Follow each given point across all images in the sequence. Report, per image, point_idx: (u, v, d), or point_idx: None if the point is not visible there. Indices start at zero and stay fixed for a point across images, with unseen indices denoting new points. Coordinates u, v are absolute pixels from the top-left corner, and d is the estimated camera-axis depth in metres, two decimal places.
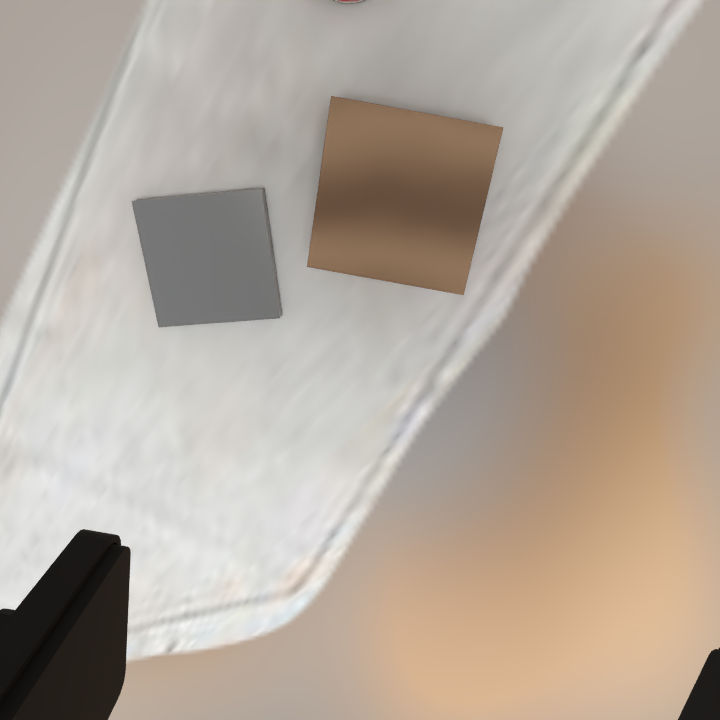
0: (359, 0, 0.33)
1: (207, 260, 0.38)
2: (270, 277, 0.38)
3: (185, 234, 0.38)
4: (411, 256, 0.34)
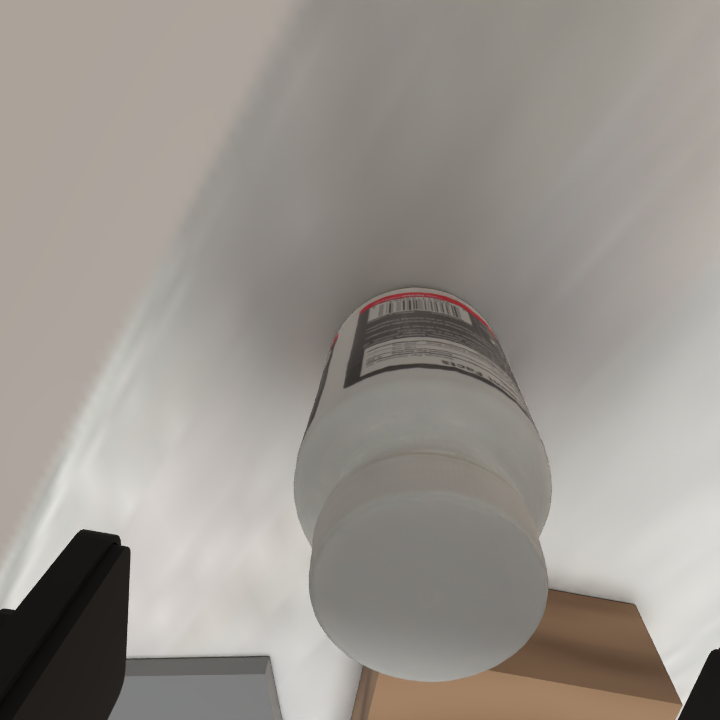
0: None
1: None
2: None
3: (150, 717, 0.25)
4: None
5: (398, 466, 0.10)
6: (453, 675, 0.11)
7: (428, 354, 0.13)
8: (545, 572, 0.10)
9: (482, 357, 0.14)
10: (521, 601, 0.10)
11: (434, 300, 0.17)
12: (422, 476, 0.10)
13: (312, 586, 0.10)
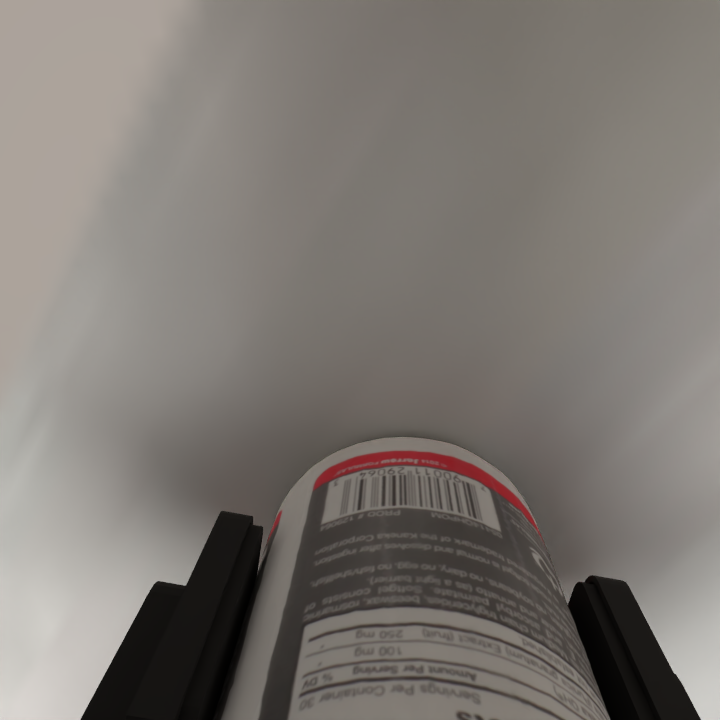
0: None
1: None
2: None
3: None
4: None
5: None
6: None
7: (428, 684, 0.06)
8: None
9: (532, 652, 0.07)
10: None
11: (434, 473, 0.10)
12: None
13: None
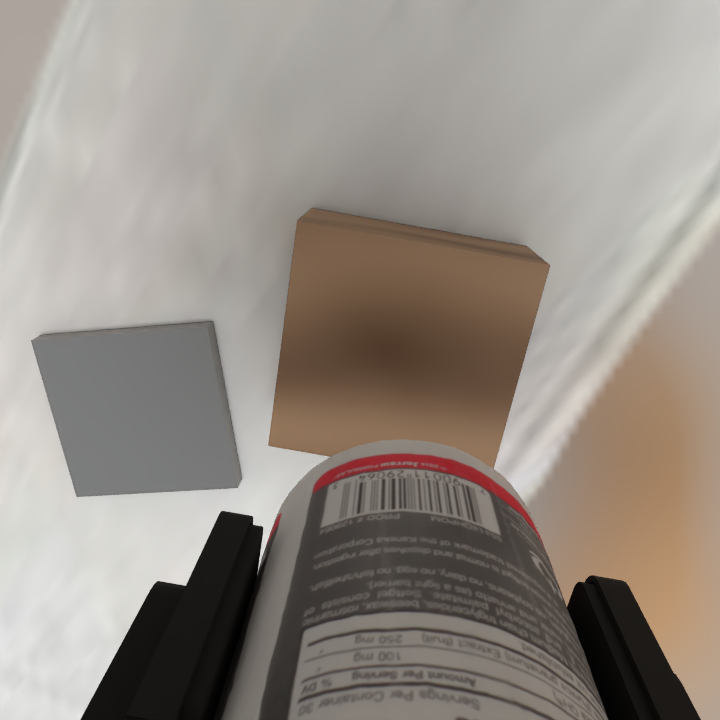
0: None
1: (137, 416, 0.28)
2: (223, 437, 0.28)
3: (107, 382, 0.28)
4: (415, 434, 0.24)
5: None
6: None
7: (427, 690, 0.06)
8: None
9: (531, 657, 0.07)
10: None
11: (434, 476, 0.10)
12: None
13: None
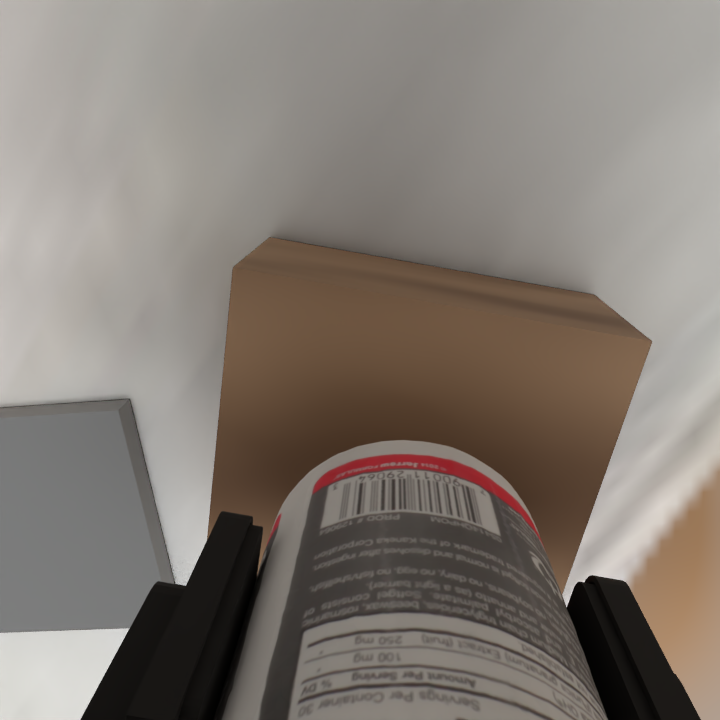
0: None
1: (25, 531, 0.20)
2: (149, 561, 0.20)
3: None
4: None
5: None
6: None
7: (426, 690, 0.06)
8: None
9: (532, 658, 0.07)
10: None
11: (434, 477, 0.10)
12: None
13: None
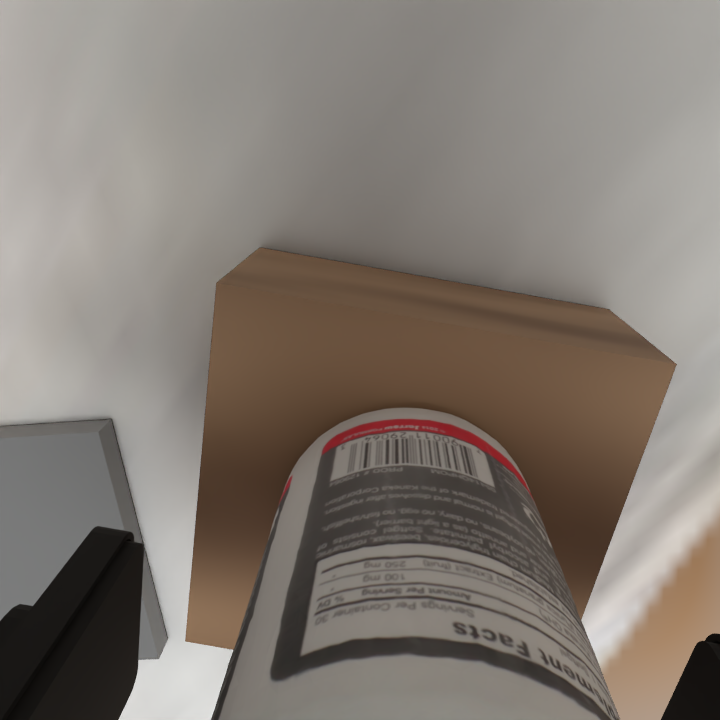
0: None
1: (1, 558, 0.18)
2: None
3: None
4: None
5: None
6: None
7: (426, 601, 0.07)
8: None
9: (521, 582, 0.08)
10: None
11: (434, 437, 0.11)
12: None
13: None
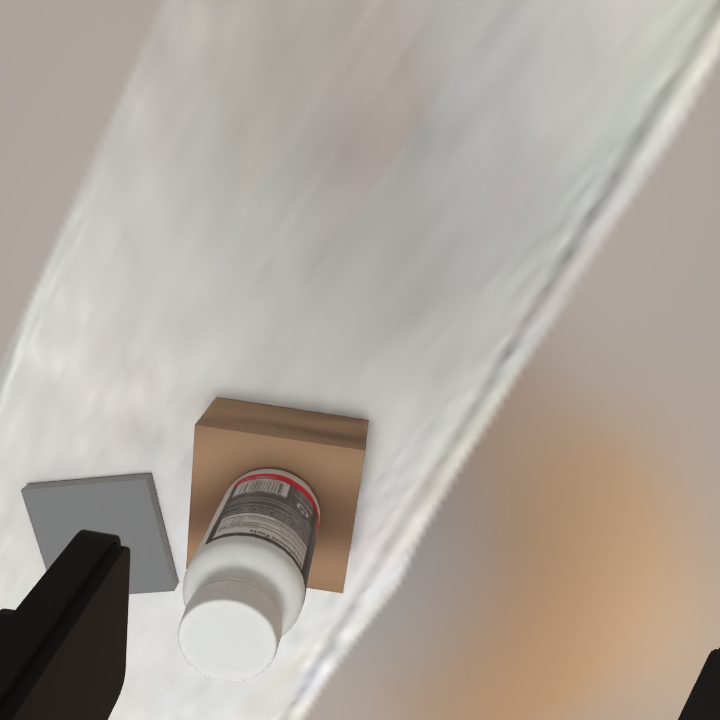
0: None
1: None
2: (161, 555, 0.38)
3: (75, 518, 0.38)
4: None
5: (214, 587, 0.24)
6: (243, 678, 0.24)
7: (245, 525, 0.27)
8: (273, 631, 0.24)
9: (277, 522, 0.28)
10: (265, 643, 0.24)
11: (271, 480, 0.31)
12: (221, 592, 0.24)
13: (178, 640, 0.24)
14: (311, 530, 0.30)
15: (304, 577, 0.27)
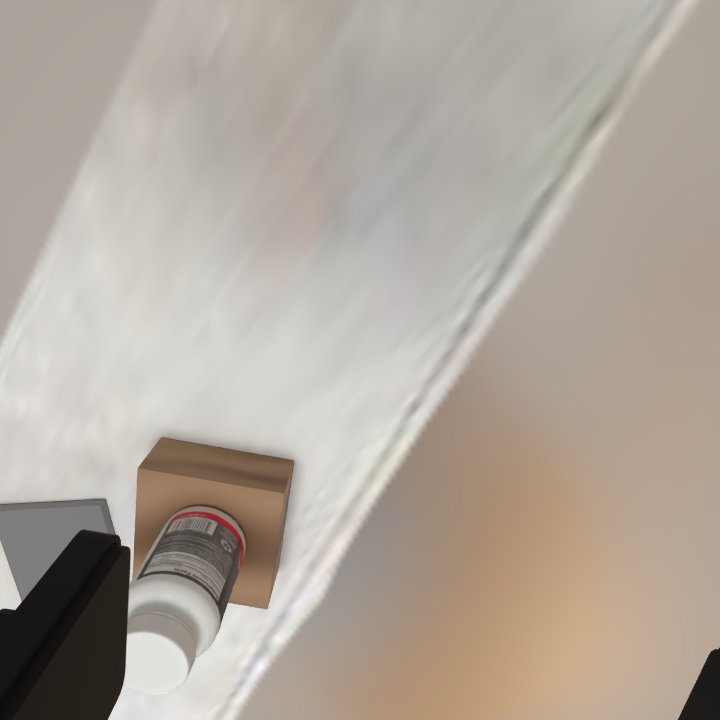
0: None
1: None
2: None
3: (39, 536, 0.43)
4: None
5: (139, 619, 0.30)
6: (162, 692, 0.30)
7: (171, 564, 0.32)
8: (185, 656, 0.29)
9: (200, 560, 0.33)
10: (179, 666, 0.29)
11: (201, 518, 0.36)
12: (143, 624, 0.29)
13: None
14: (232, 563, 0.35)
15: (219, 607, 0.32)
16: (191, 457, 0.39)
